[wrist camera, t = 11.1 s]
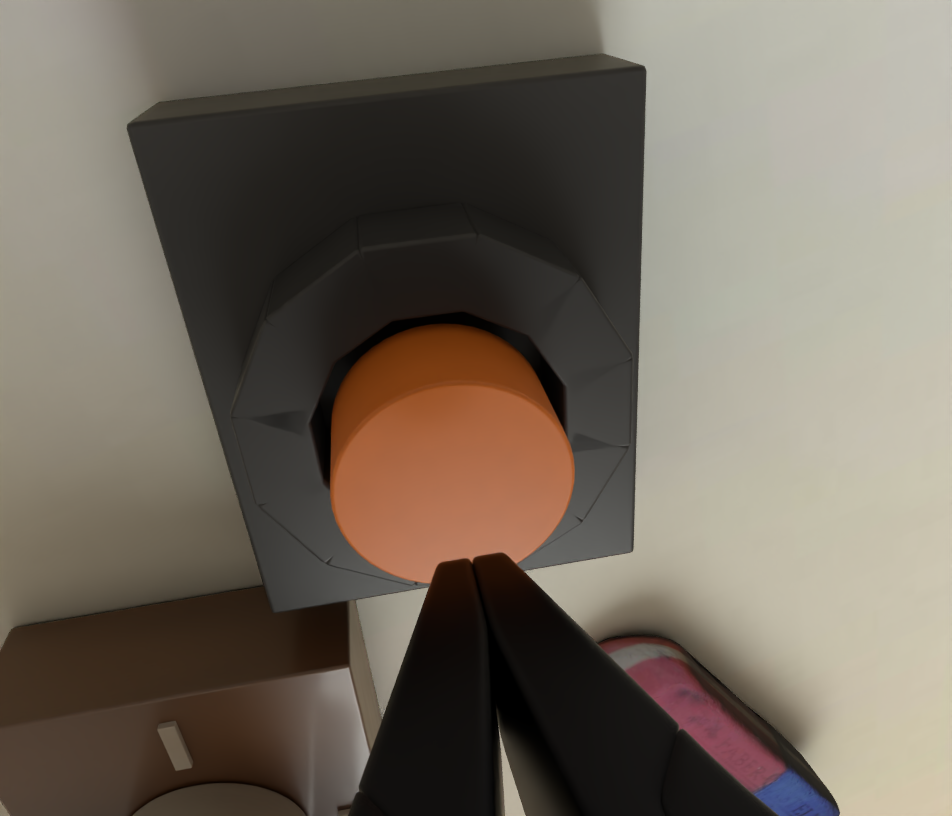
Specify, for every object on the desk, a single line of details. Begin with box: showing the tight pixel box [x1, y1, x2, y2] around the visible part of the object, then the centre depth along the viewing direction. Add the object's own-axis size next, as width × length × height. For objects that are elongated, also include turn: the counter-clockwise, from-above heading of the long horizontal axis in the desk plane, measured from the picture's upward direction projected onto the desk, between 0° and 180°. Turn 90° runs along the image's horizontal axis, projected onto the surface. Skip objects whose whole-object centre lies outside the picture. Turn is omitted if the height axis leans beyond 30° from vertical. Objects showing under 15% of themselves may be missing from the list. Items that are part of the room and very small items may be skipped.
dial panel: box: [0, 586, 382, 816], centre depth 20 cm, size 10×9×3 cm
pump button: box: [330, 324, 575, 583], centre depth 12 cm, size 4×4×2 cm
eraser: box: [598, 635, 840, 816], centre depth 23 cm, size 11×4×2 cm, turn 41°
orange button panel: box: [127, 54, 646, 613], centre depth 14 cm, size 10×8×4 cm
